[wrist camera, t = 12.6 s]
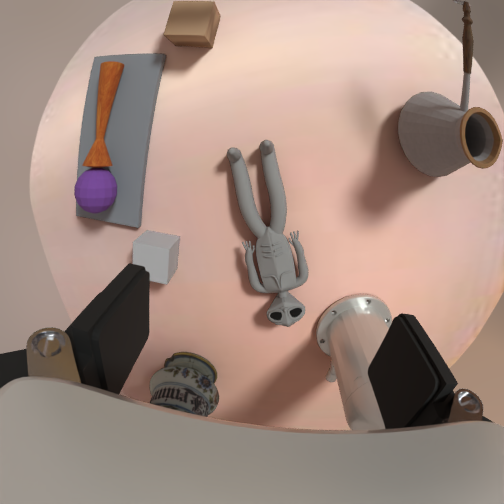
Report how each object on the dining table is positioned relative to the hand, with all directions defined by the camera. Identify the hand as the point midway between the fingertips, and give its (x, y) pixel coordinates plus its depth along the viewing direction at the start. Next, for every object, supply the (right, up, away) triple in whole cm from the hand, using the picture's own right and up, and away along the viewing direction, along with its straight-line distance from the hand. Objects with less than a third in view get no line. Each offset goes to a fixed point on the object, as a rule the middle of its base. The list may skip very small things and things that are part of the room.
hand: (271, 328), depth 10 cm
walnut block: (-8, +31, +19) cm, 37 cm away
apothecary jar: (-12, -19, +39) cm, 45 cm away
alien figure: (+2, +5, +29) cm, 30 cm away
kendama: (-20, +18, +23) cm, 36 cm away
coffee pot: (+22, +23, +20) cm, 38 cm away
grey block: (-13, +3, +30) cm, 33 cm away
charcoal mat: (-19, +18, +24) cm, 36 cm away
